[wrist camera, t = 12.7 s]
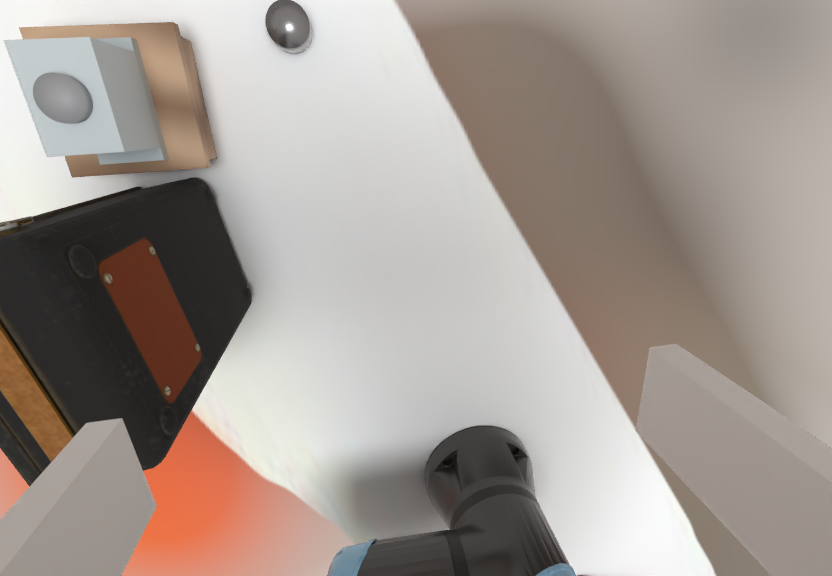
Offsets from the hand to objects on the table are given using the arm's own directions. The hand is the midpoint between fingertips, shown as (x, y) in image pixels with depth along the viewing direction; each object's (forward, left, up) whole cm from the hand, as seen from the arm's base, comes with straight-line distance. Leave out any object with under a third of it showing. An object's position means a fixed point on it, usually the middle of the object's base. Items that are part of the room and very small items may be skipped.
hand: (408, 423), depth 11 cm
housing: (+10, +19, -32) cm, 38 cm away
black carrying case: (-4, +18, -37) cm, 41 cm away
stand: (+10, +19, -37) cm, 43 cm away
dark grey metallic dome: (+16, +5, -37) cm, 40 cm away
